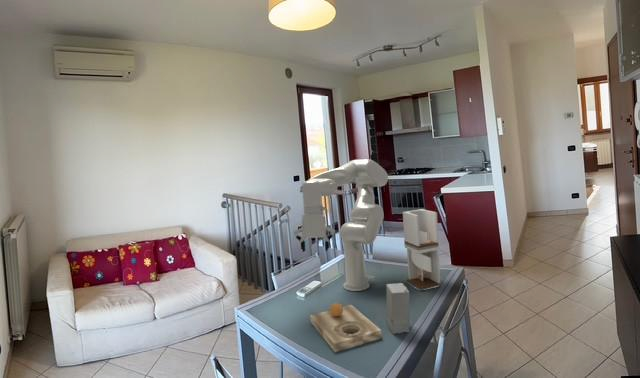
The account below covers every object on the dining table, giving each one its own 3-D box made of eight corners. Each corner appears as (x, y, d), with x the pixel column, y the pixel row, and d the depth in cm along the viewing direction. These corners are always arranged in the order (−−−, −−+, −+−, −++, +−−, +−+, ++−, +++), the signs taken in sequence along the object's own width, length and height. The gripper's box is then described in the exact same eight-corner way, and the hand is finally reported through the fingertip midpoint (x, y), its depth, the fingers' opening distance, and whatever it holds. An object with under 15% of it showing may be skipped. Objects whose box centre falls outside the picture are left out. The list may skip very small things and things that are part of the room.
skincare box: (386, 323, 138) (383, 283, 136) (404, 321, 138) (402, 281, 137) (392, 335, 130) (390, 292, 128) (412, 332, 130) (409, 290, 128)
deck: (351, 311, 150) (351, 304, 150) (381, 338, 128) (381, 330, 128) (310, 322, 144) (310, 315, 144) (335, 352, 122) (334, 343, 121)
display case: (406, 283, 175) (402, 212, 171) (425, 279, 178) (422, 209, 174) (420, 291, 164) (416, 215, 160) (440, 287, 168) (436, 212, 164)
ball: (340, 311, 144) (339, 299, 144) (345, 316, 140) (344, 304, 139) (328, 314, 143) (327, 302, 142) (333, 320, 138) (332, 307, 137)
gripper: (334, 208, 154) (336, 247, 155) (294, 209, 156) (296, 248, 157) (332, 210, 146) (335, 252, 148) (290, 212, 149) (293, 253, 150)
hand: (315, 250), depth 153 cm, fingers open, 9 cm apart
